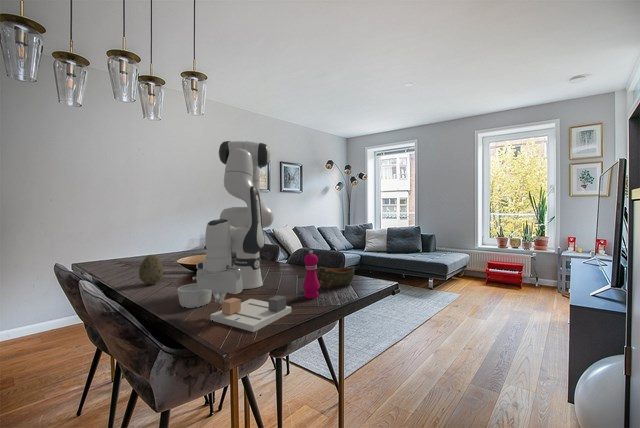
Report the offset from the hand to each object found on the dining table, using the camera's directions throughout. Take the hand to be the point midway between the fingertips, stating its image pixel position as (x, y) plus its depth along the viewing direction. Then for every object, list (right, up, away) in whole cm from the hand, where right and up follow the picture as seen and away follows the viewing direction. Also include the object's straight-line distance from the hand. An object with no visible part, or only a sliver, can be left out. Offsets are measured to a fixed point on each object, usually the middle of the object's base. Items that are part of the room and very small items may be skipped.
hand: (219, 302), depth 109 cm
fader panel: (+12, -5, -1) cm, 13 cm away
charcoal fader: (+21, -2, -1) cm, 21 cm away
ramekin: (-14, -5, +13) cm, 20 cm away
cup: (+43, -3, +37) cm, 57 cm away
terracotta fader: (+5, -2, -3) cm, 6 cm away
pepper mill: (+33, -4, +22) cm, 39 cm away
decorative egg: (-50, -4, +45) cm, 68 cm away
